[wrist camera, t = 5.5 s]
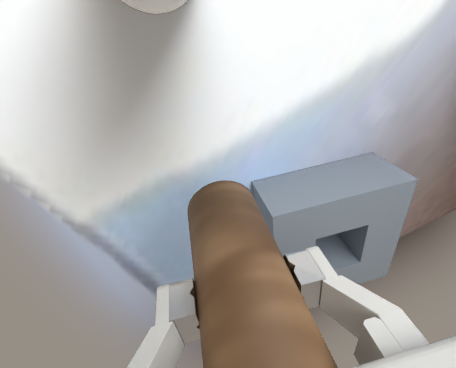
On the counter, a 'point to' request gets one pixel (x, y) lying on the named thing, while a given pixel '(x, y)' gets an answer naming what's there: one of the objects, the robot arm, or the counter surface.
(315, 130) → the counter surface
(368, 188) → the socket block
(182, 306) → the robot arm
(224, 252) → the walnut peg
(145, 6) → the cylindrical container
